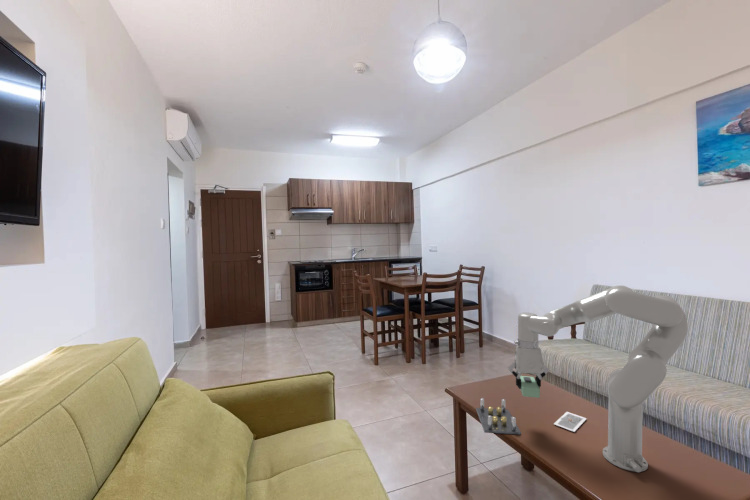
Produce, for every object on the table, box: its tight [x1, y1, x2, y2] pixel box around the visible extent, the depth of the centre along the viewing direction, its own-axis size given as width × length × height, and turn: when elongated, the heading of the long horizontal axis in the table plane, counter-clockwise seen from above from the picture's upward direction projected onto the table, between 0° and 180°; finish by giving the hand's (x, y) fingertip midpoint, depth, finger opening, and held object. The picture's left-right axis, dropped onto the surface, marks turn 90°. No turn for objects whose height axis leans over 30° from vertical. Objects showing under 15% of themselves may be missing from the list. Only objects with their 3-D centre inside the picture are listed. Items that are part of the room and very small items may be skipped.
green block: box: [519, 375, 541, 399], centre depth 135 cm, size 12×6×4 cm, turn 165°
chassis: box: [476, 397, 522, 435], centre depth 141 cm, size 18×14×6 cm
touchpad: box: [553, 411, 588, 433], centre depth 140 cm, size 8×15×2 cm, turn 131°
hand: (528, 387), depth 135 cm, fingers closed on green block, 6 cm apart
